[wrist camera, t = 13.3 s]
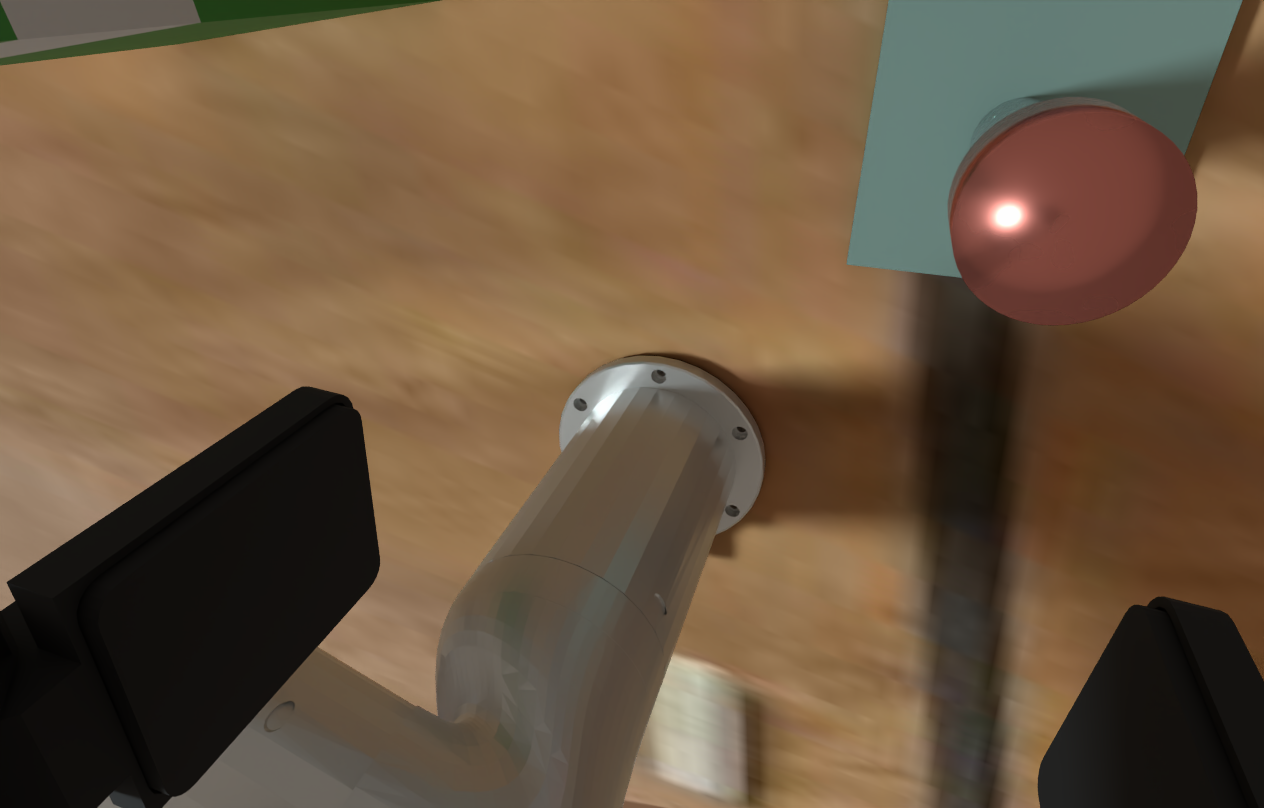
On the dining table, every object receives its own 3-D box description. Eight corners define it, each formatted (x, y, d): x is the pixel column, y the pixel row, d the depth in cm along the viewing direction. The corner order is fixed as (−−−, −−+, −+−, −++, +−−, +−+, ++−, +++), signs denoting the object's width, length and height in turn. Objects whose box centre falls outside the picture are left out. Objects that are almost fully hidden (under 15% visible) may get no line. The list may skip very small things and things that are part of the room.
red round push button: (1123, 67, 29) (1236, 119, 19) (1075, 222, 32) (1151, 338, 22) (956, 61, 30) (978, 106, 20) (926, 210, 33) (932, 311, 23)
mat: (1127, 290, 33) (1131, 297, 32) (847, 258, 36) (846, 264, 36) (1243, -24, 27) (1250, -23, 26) (893, -28, 30) (893, -27, 29)
